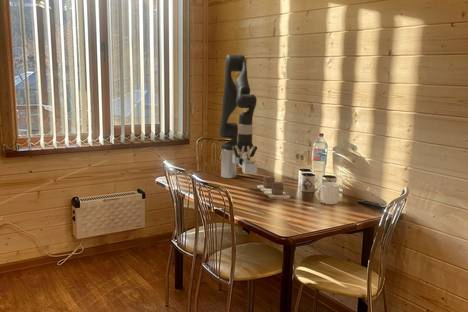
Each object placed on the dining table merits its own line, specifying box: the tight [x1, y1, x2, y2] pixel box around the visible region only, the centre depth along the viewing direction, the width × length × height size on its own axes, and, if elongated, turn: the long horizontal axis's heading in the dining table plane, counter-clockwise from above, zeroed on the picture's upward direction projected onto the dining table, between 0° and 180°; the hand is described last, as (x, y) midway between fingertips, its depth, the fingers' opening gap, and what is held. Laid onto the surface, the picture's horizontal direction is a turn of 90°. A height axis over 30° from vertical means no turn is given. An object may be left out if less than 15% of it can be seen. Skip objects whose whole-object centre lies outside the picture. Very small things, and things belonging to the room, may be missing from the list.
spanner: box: [232, 152, 258, 175], centre depth 242 cm, size 26×6×5 cm, turn 14°
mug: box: [315, 181, 340, 205], centre depth 230 cm, size 12×9×9 cm
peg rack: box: [256, 175, 291, 200], centre depth 246 cm, size 26×10×7 cm, turn 14°
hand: (244, 164), depth 242 cm, fingers closed on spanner, 3 cm apart
